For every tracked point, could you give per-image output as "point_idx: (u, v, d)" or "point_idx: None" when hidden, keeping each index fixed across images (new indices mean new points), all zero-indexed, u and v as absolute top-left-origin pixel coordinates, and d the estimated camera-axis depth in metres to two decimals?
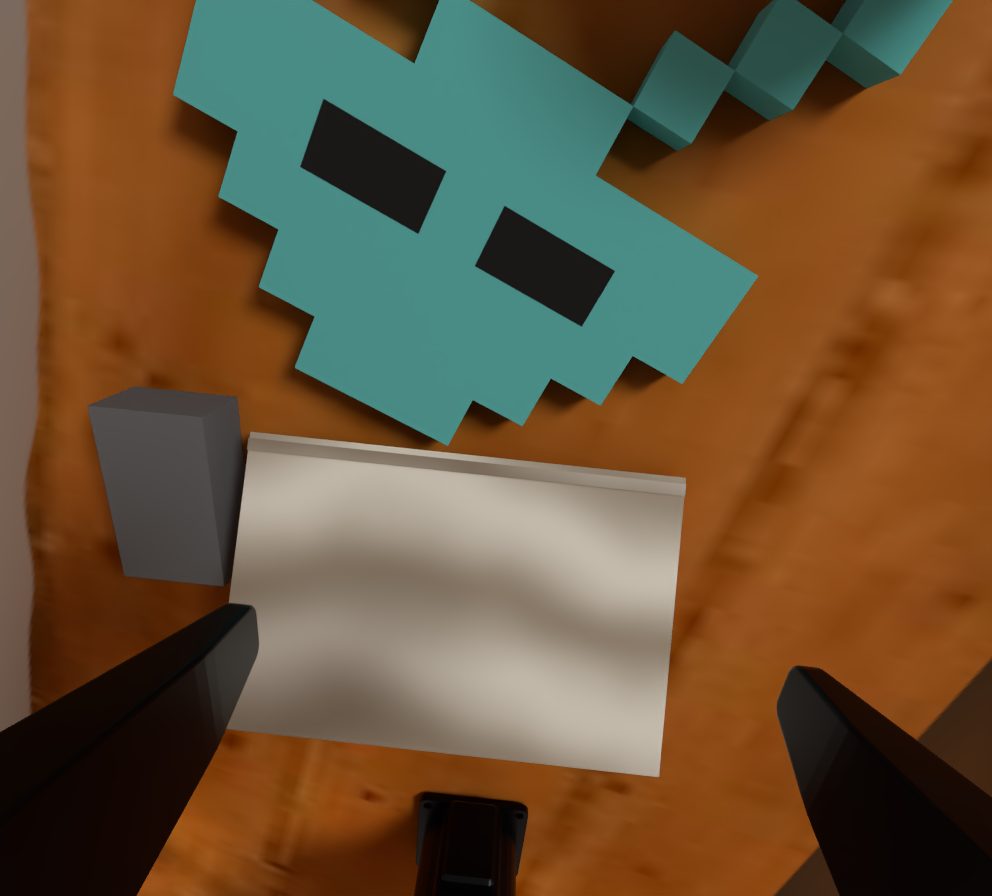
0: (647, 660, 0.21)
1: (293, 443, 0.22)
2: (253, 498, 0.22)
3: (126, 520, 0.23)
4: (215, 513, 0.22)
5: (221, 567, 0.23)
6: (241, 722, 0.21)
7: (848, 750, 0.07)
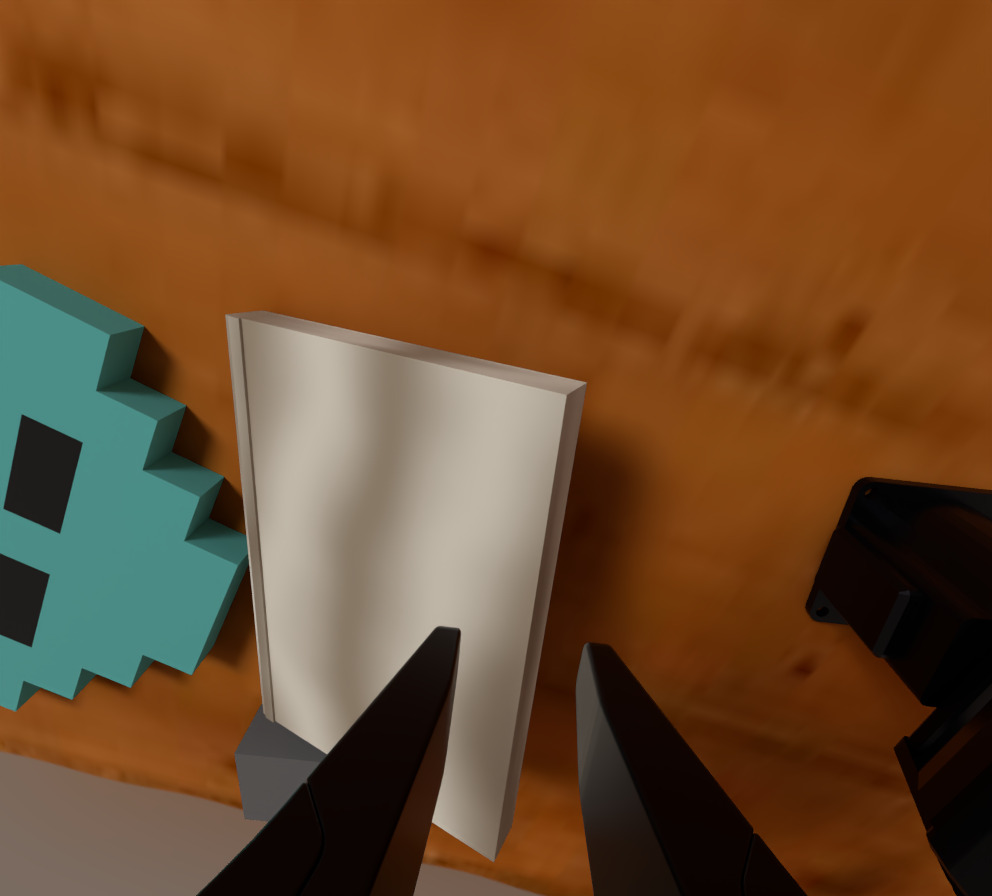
0: (411, 389, 0.15)
1: (265, 686, 0.24)
2: (306, 734, 0.23)
3: None
4: None
5: None
6: (489, 837, 0.19)
7: (598, 722, 0.07)
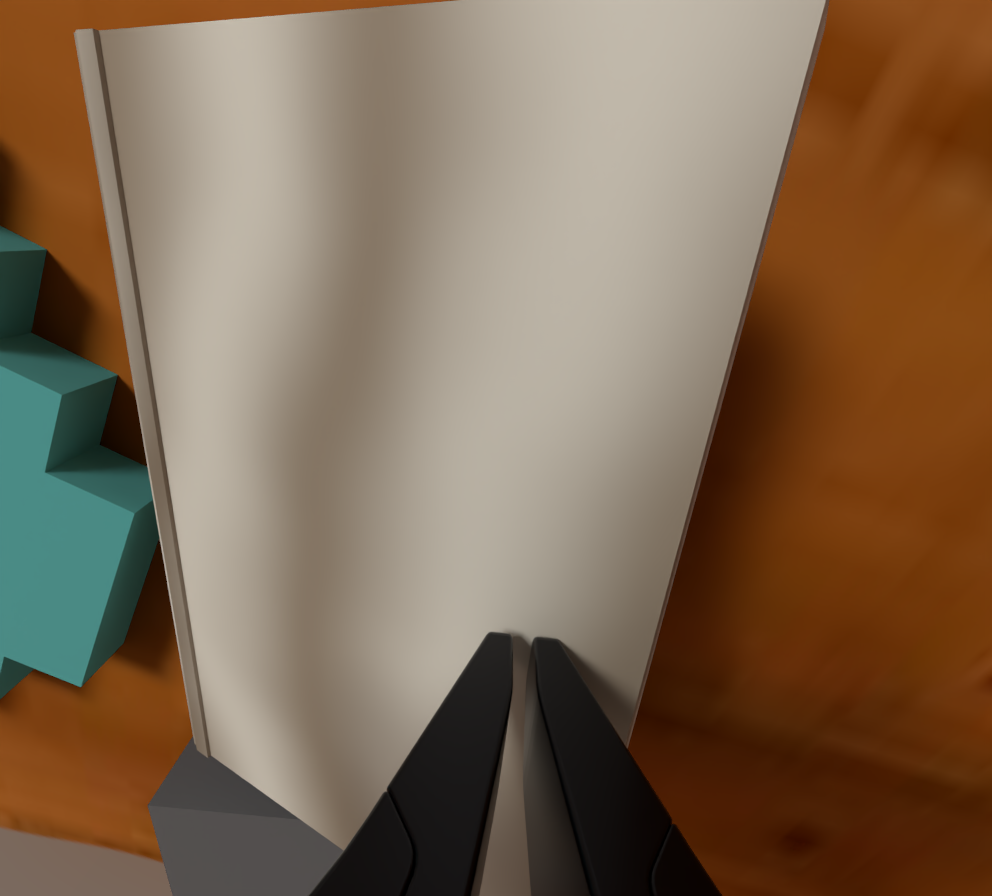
0: (418, 86, 0.07)
1: (194, 704, 0.16)
2: (254, 777, 0.15)
3: None
4: (289, 817, 0.16)
5: None
6: None
7: (537, 715, 0.07)
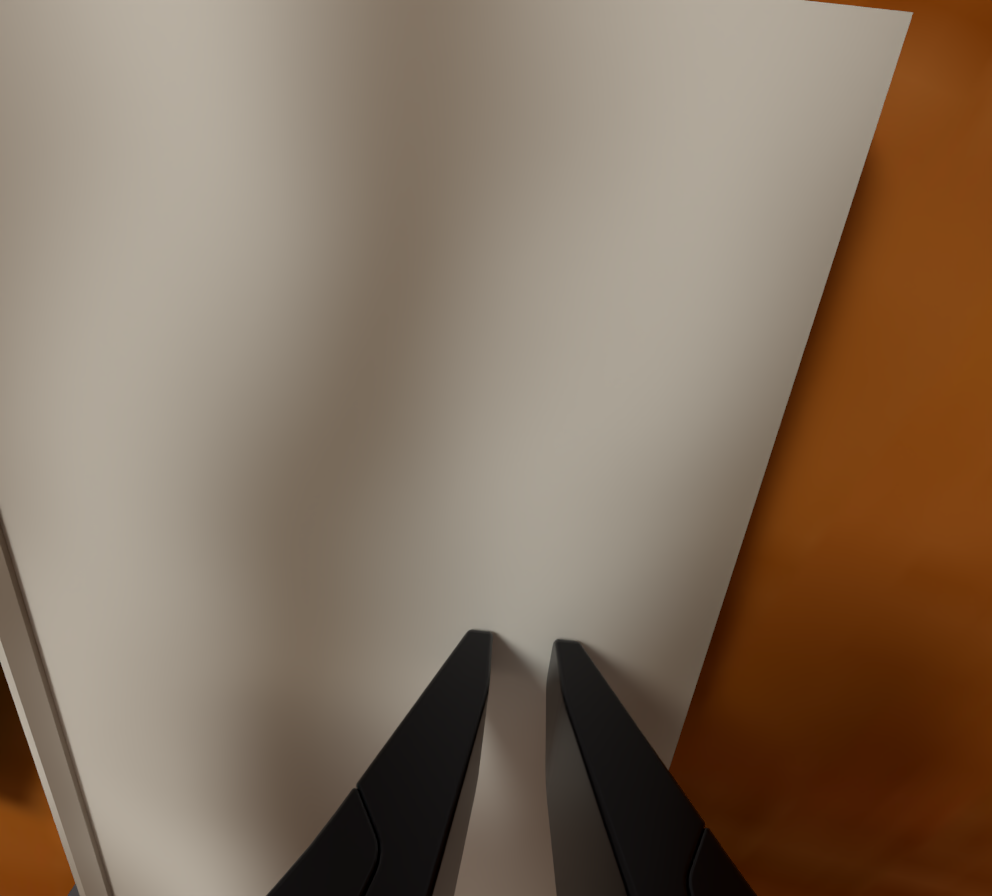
0: (469, 66, 0.06)
1: (85, 870, 0.12)
2: None
3: None
4: None
5: None
6: None
7: (562, 718, 0.07)
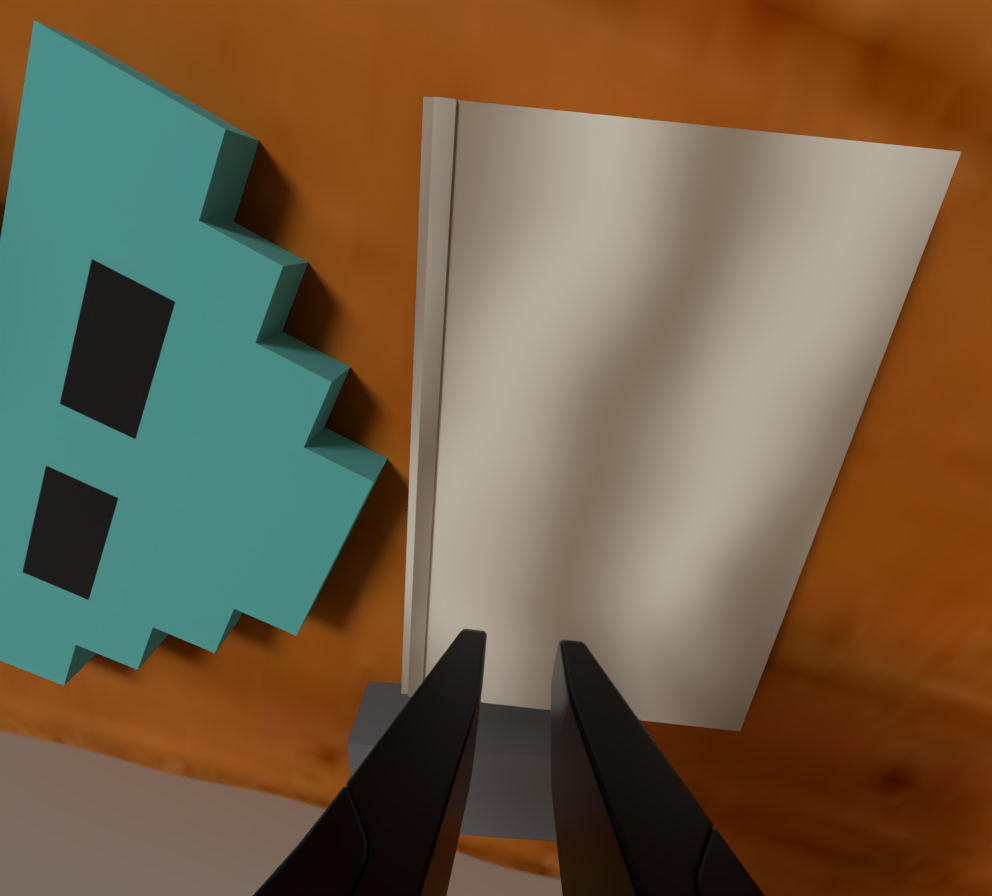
0: (747, 174, 0.12)
1: (411, 654, 0.18)
2: None
3: (489, 826, 0.20)
4: None
5: (548, 756, 0.18)
6: (740, 707, 0.18)
7: (568, 718, 0.07)
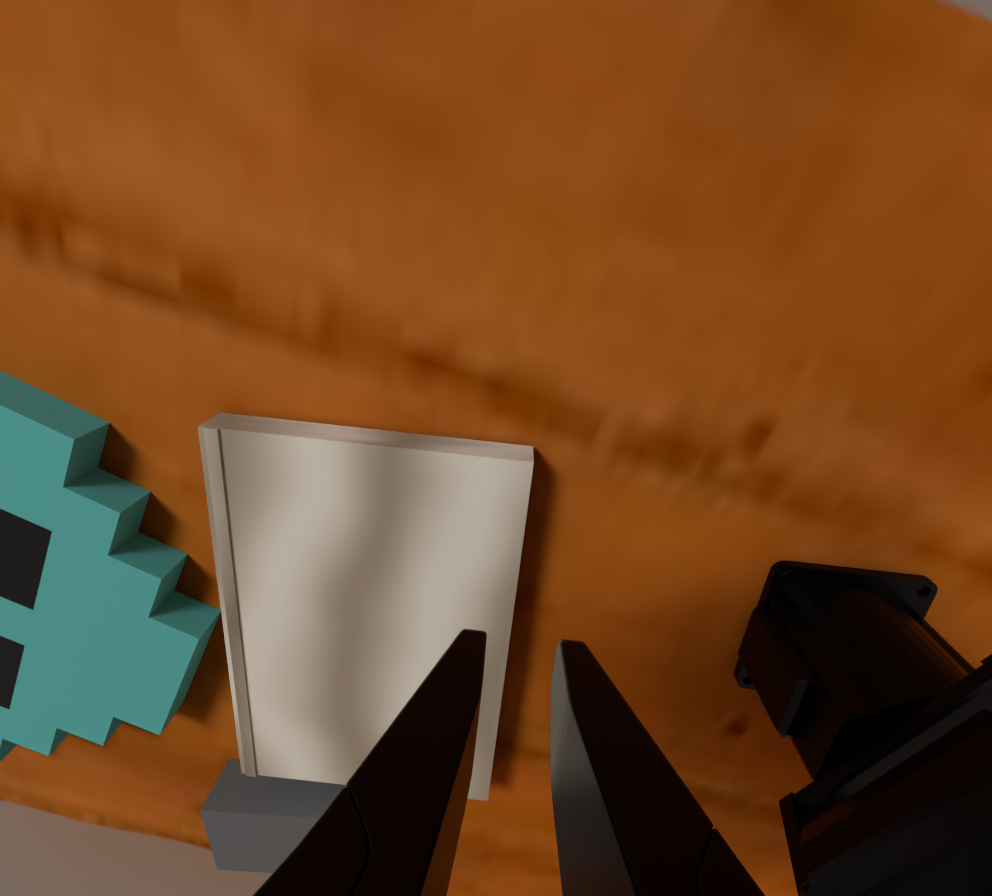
0: (406, 470, 0.19)
1: (244, 747, 0.25)
2: (296, 773, 0.26)
3: None
4: (287, 815, 0.25)
5: None
6: (483, 784, 0.25)
7: (568, 718, 0.07)
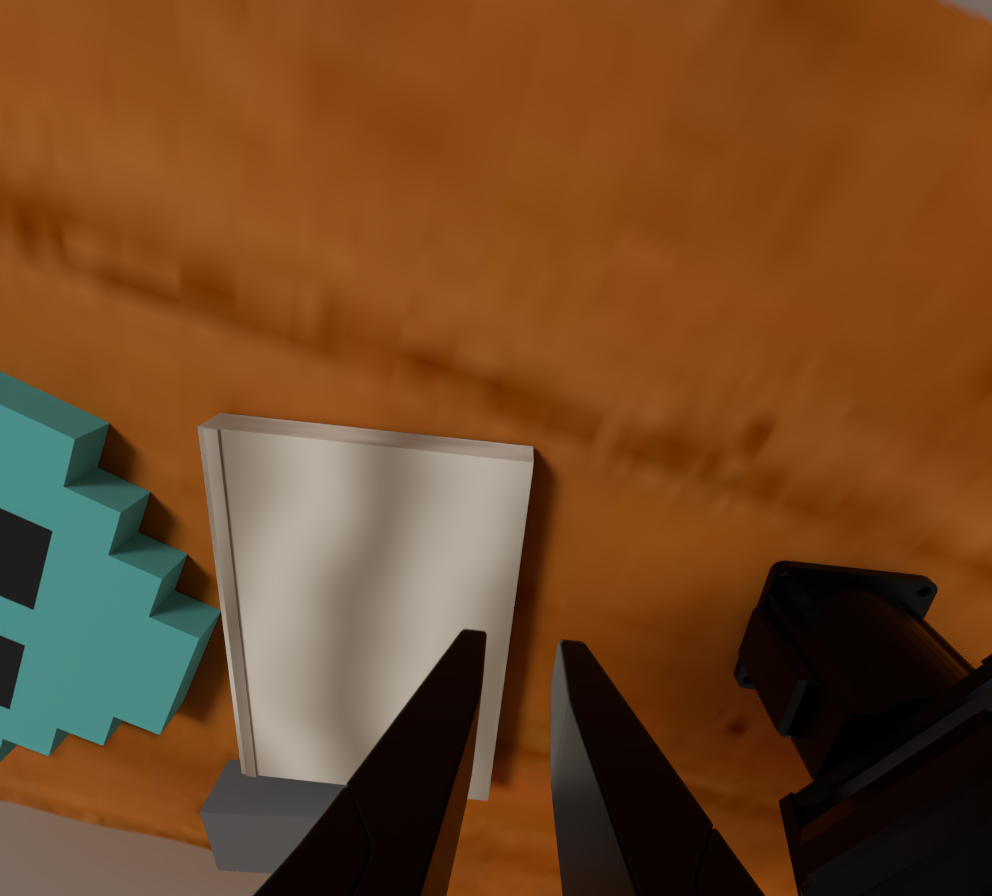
0: (406, 471, 0.19)
1: (244, 747, 0.25)
2: (296, 773, 0.26)
3: None
4: (287, 815, 0.25)
5: None
6: (483, 784, 0.25)
7: (568, 718, 0.07)
